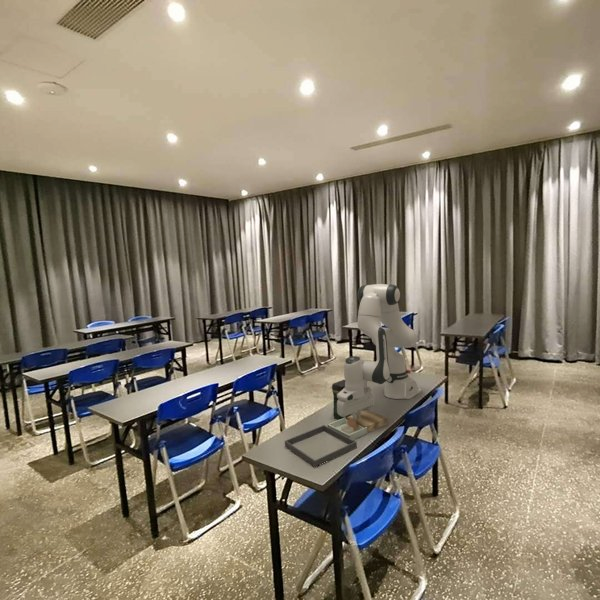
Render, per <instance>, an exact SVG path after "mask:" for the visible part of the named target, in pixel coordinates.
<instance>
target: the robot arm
mask: <svg viewBox="0 0 600 600" xmlns="http://www.w3.org/2000/svg"><path fill="white" fill-rule="evenodd" d="M357 300H358V301H359V306H358V311H357V327H358V329H359V331H360V332H361V333H363V334H364V335H366V336H367V337H369V338H370V339H371V341H372V343H373V345H374V346H375V352H376V353H375V354H376V361H373V360H368V359H362V358H360V356H357V355H353V356H348V357H347V358H345V359H344V362H343V363H344V364H343V376H344V378H343V379H344V380H345V388H344V389H343V390H342V391H340V392H339V393H338V394H337V398H338V401H337V413H338V415H340V416H342V417H345V416H347V415H350V414H351V415H352V416H353V420H354V421H356V420H358V419H360V415H361V412H362V411H363V410H366V409H367V408H369V407H372V406H373V405H374V398H373V394H372V388H371V387H370V386H367V387H366V388H364V384H363V380H366V381H367V382H371V383H372V382H373V383H375V384H378V385H382V384H384V389H383V392H384V393H383V394H384V395H383V396H385V398H386V397H387V398H388V399H394V400H404V399H405V400H411V399H413V398H414V397H416V396H417V395H418V394H420V393H421V392H422V391H423V390H422V389H421V388H420V387H418V386H417V385H418V384H417V381H416V380H415V379H413V378H412V377H410V376H409V375H410V374H411V373H412V371H411V369H406V357H404V355H403V354H402V353H400V352H399V351H397V350H396V349H397V348H398V349H400V348H401V349H409V348H414V347H415V346H416V344H417V342H418V335H417V333H416V331H415V330H414V329H412V328H410V327H409V326H408V325H407V324H406V323H405V322H404V320H403V319H402V316H401V315H402V314H401V312H400V307H399V303H398V302H399V301H400V300H401V291H400V288H399V287H398V286H397V285H395V284H392V283H391V284H386V283H375V284H364V285H361V286H360V287H359V288H358V290H357ZM382 325H383V326H384V327H382ZM356 413H357V414H356ZM355 414H356V415H355Z"/></svg>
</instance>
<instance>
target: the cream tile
mask: <svg viewBox="0 0 600 600" xmlns="http://www.w3.org/2000/svg"><path fill="white" fill-rule="evenodd" d="M341 431H343V432H345V433H347V434H350V433H352V432H354V429H353V427H351V426H349V425H346V426H343V427H341Z"/></svg>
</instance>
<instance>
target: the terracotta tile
mask: <svg viewBox="0 0 600 600" xmlns="http://www.w3.org/2000/svg"><path fill="white" fill-rule="evenodd" d="M346 420H347V419H346ZM347 423H348V425H349V426H351V427H353V429H354V431H355V430H357V424H356V421H354V420H352V419H349V420H347Z"/></svg>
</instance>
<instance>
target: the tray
mask: <svg viewBox="0 0 600 600" xmlns="http://www.w3.org/2000/svg"><path fill="white" fill-rule="evenodd" d="M346 425H348V423H347V419H346V418H342V419H336V420H335V421H333V422H330V423H328V424H327V427H329V428H331V429H333V430H335V431H337V432H338V433H340V434H342V435H344V436H346V437H348V438H350V439H352V440H354V441H355V440H357V439H359V438H361V437H363V436H365V435H367V434H368V433H367V427H365V428H364V427H361V426H359V425H357V430H355V431H354V432H352V433H350V434H347V433H345V432H343V431H341V427H343V426H346Z"/></svg>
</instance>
